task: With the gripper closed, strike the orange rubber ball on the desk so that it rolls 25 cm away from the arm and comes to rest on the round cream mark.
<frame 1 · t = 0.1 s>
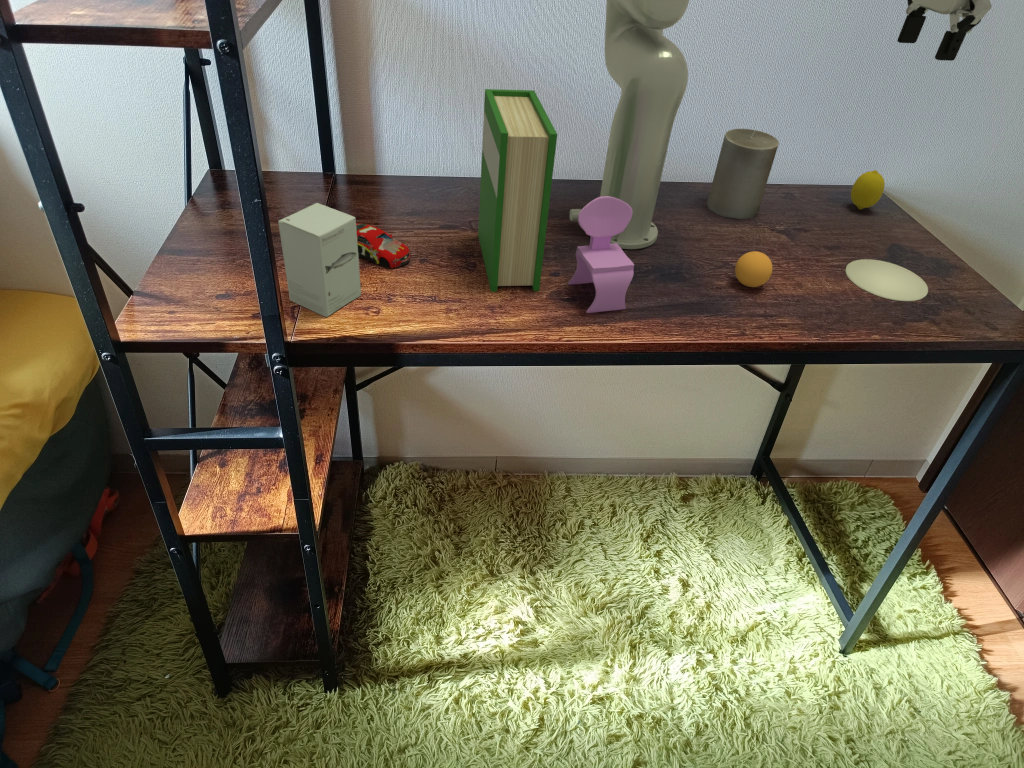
hand: (924, 50, 110), 31 cm above the table, tool pointing down, fingers open, 9 cm apart
hardback book: (506, 263, 112), on the table
pillar candle: (731, 209, 134), on the table
lemon: (858, 210, 138), on the table
race car: (373, 255, 111), on the table
supplement box: (326, 299, 100), on the table
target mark: (885, 279, 116), on the table
ball: (753, 269, 110), on the table
toy chair: (596, 298, 106), on the table
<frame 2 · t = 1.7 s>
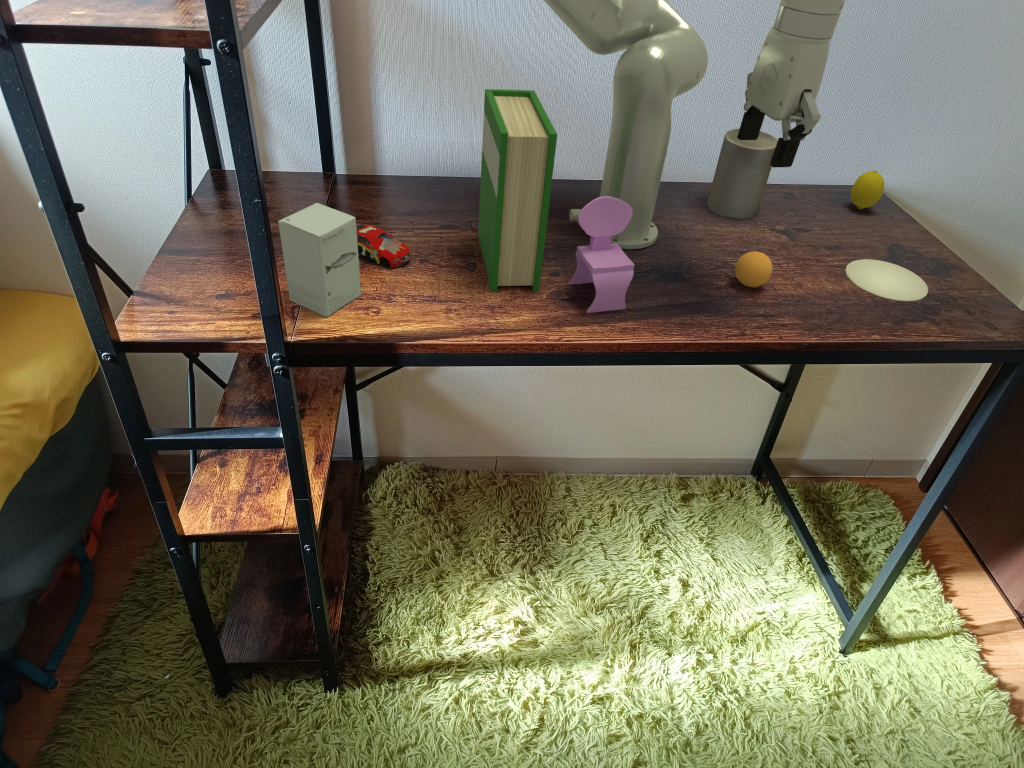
hand: (763, 152, 101), 20 cm above the table, tool pointing down, fingers open, 9 cm apart
nothing on the table moved.
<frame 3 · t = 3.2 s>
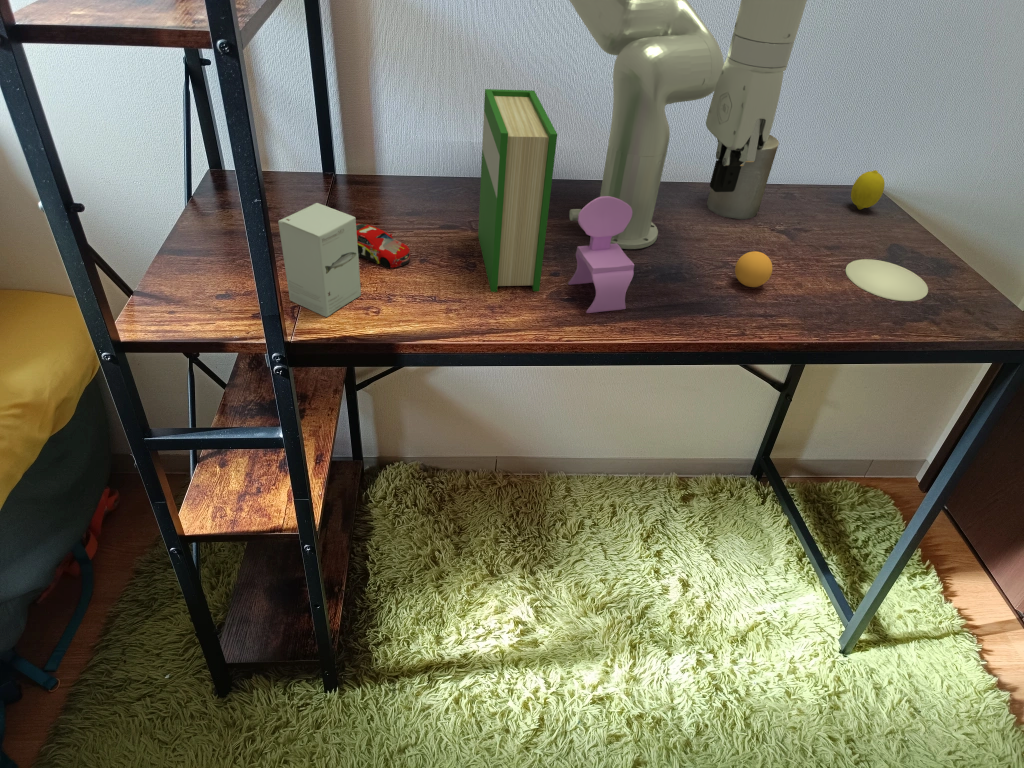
hand: (721, 189, 99), 16 cm above the table, tool pointing down, fingers closed
nothing on the table moved.
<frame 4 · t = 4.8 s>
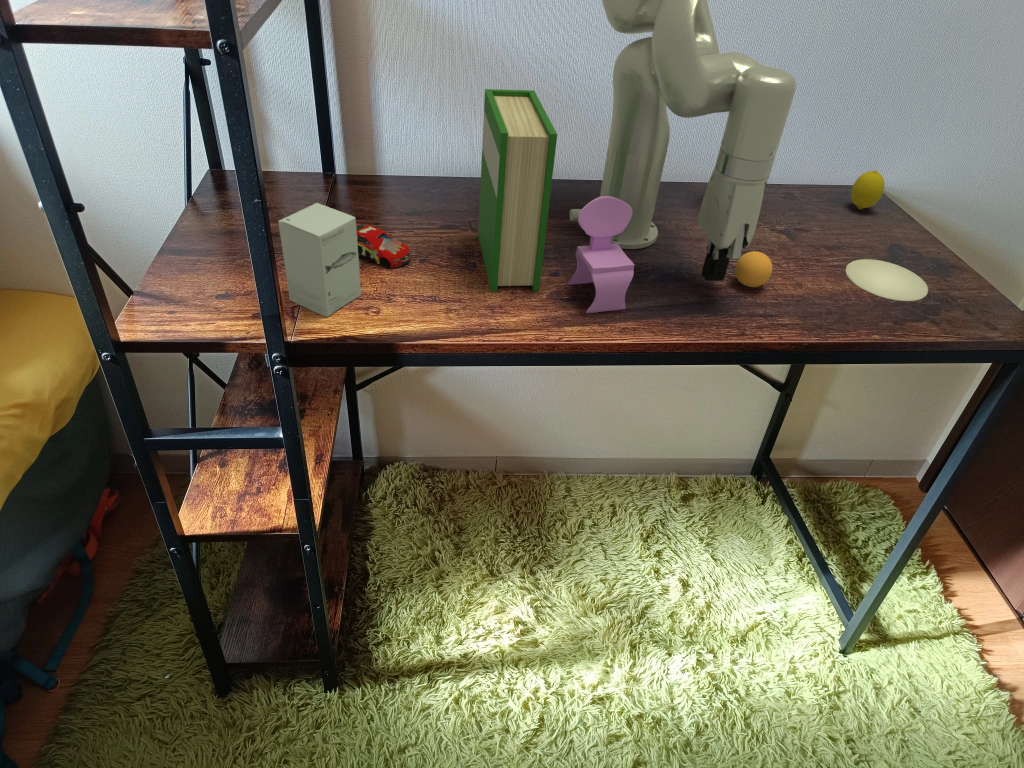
hand: (712, 277, 109), 2 cm above the table, tool pointing down, fingers closed
nothing on the table moved.
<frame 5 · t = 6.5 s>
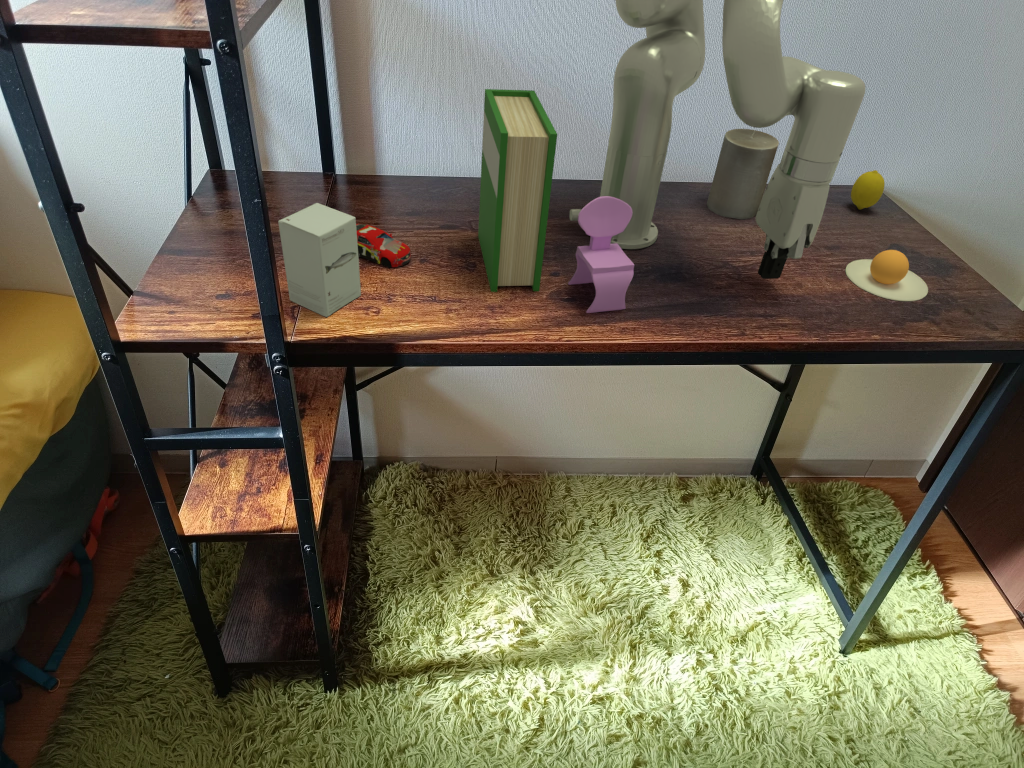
hand: (768, 275, 111), 2 cm above the table, tool pointing down, fingers closed
ball: (889, 267, 114), on the table
everything else where it was.
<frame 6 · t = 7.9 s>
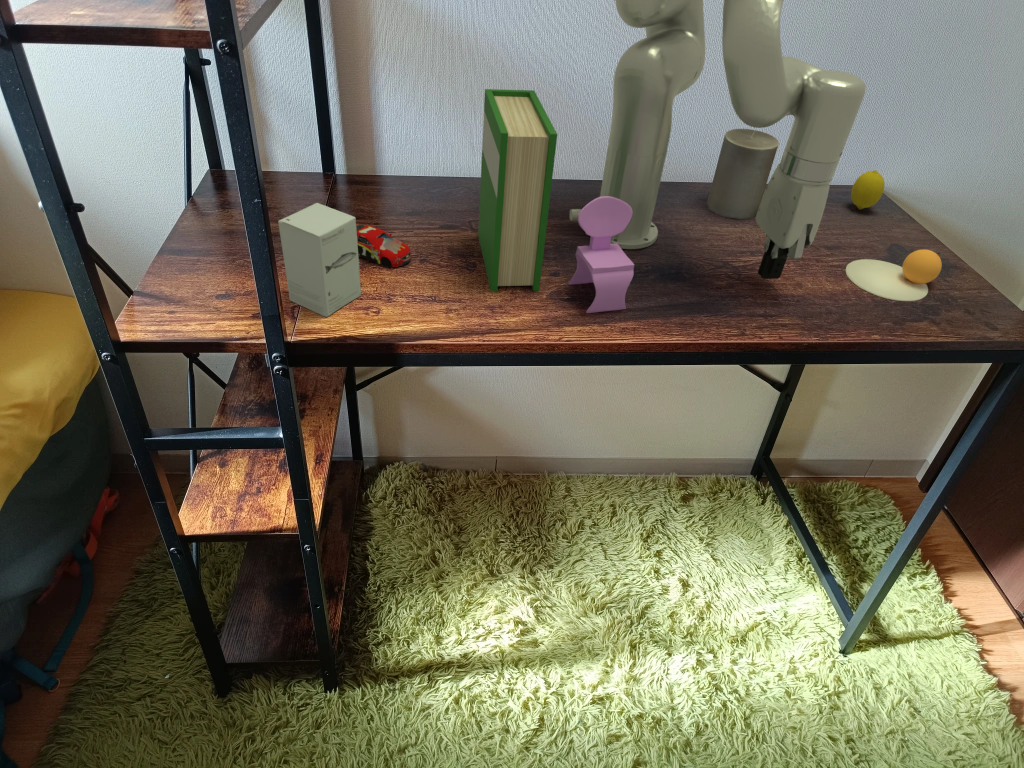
hand: (768, 275, 111), 2 cm above the table, tool pointing down, fingers closed
ball: (921, 266, 115), on the table
everything else where it was.
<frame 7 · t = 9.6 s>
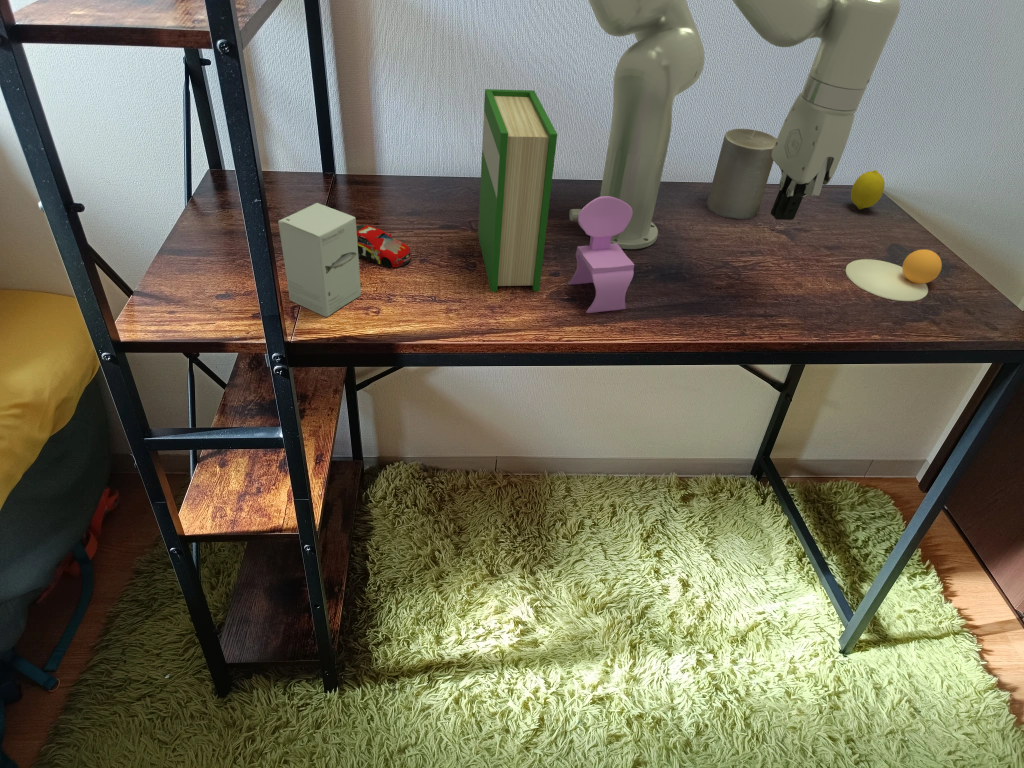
hand: (781, 216, 105), 11 cm above the table, tool pointing down, fingers closed
nothing on the table moved.
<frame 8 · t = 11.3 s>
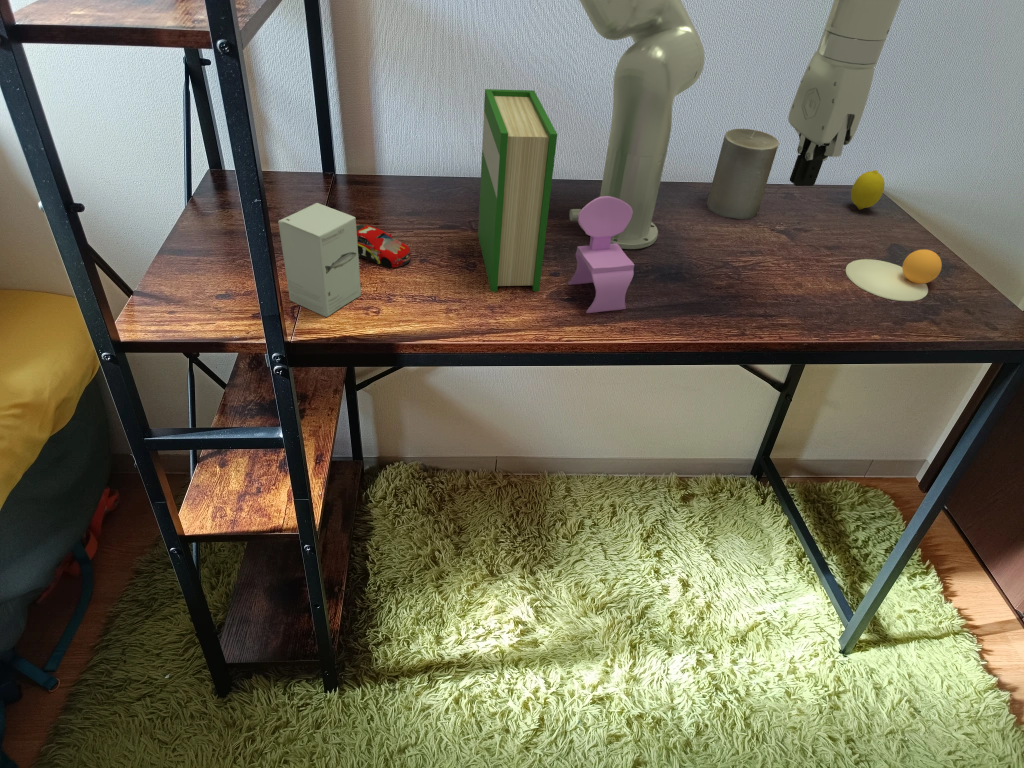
hand: (801, 183, 101), 17 cm above the table, tool pointing down, fingers closed
nothing on the table moved.
at the end: ball 5.0 cm from the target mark (horizontally); ball at rest at the end (0.0 cm/s); ball moved 30.0 cm from its start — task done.
